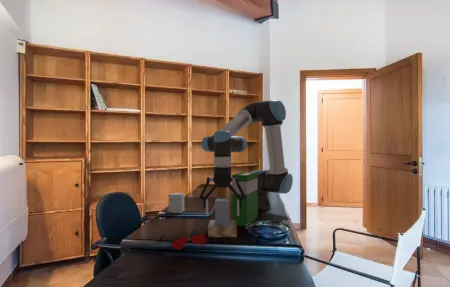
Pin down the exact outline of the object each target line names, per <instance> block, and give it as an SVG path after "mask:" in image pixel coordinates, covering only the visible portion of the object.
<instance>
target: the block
mask: <svg viewBox="0 0 450 287" xmlns="http://www.w3.org/2000/svg"><path fill="white" fill-rule="evenodd" d="M214 220H215V225H229V220H230V198H216V199H215V200H214Z"/></svg>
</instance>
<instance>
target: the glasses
mask: <svg viewBox="0 0 450 287" xmlns="http://www.w3.org/2000/svg"><path fill="white" fill-rule="evenodd" d="M194 233H196V234H194ZM190 234H191V235H188V237H191V240H190V242H191V244H196V245H199V246H205V243H206V242H207V241H208V239H207V238H206V235H205V234H204V233H199V232H197V231H195V230H193V231H191V233H190ZM186 237H187V235H183V236H177V237H174V240H172V241H171V240H169V239H168V238H167V237H166V235H165V234H164V235H161V237H160V240H162V239H163V238H165V239H166V241H167V242H168V243H169V244H171V248H173V249H175V250H178V251H181V250H182V248H183V247H184V246H185V245H187V243H188V241H189V239H188V238H186ZM175 239H176V240H175Z"/></svg>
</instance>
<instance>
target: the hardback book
mask: <svg viewBox="0 0 450 287" xmlns="http://www.w3.org/2000/svg"><path fill="white" fill-rule="evenodd" d="M231 177H232V178H236V177H238V181H239V184H240V186H241V188H242V190H243V192H244V194H245V196H246V199H243V200H242V207H241V208H239V216H237V199H238V198H237V197H236V195H235V194H234V193H233V192H232V191H231V192H232V193H231V196H232V198H231V199H232V201H231V205H232V207H231V212H232V217H231V218H232V219H231V220H236V225H237V226H238V227H239V226H240V227H246V226H245V225H246V224H248V223H251V222H252V223H253V222H254V221H256V220H257V219H258V172H254V173H250V172H247V171H241V172H237V173H235V174H231ZM231 186H232V187H233V188H234V189H235V190H236V192H237V193H238V194H239V195H240V196H242V195H241V193H240V191H239V189H238V187H237V185H236V183H235V182H234V181H232V182H231ZM252 223H251V224H252Z"/></svg>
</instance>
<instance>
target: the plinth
mask: <svg viewBox="0 0 450 287" xmlns="http://www.w3.org/2000/svg"><path fill="white" fill-rule="evenodd" d="M237 226H238V225H236V220H232V219H229V225H215V219H209V222H208V225H207V238H237V237H238V236H237V234H238V227H237Z"/></svg>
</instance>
